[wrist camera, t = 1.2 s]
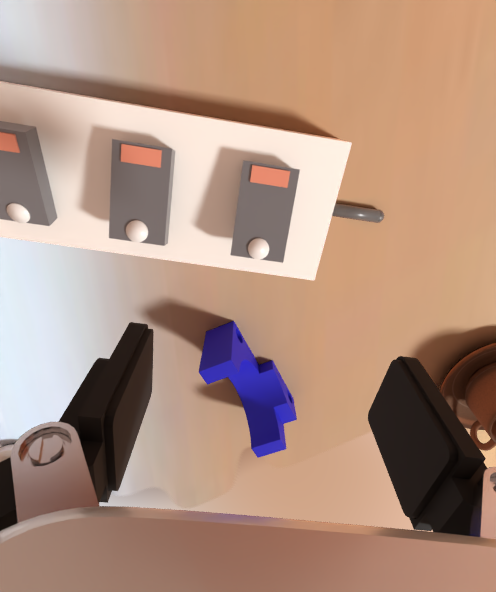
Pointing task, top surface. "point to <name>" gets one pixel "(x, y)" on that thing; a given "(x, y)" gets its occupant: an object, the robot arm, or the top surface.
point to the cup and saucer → (474, 393)
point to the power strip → (176, 178)
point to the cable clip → (250, 386)
